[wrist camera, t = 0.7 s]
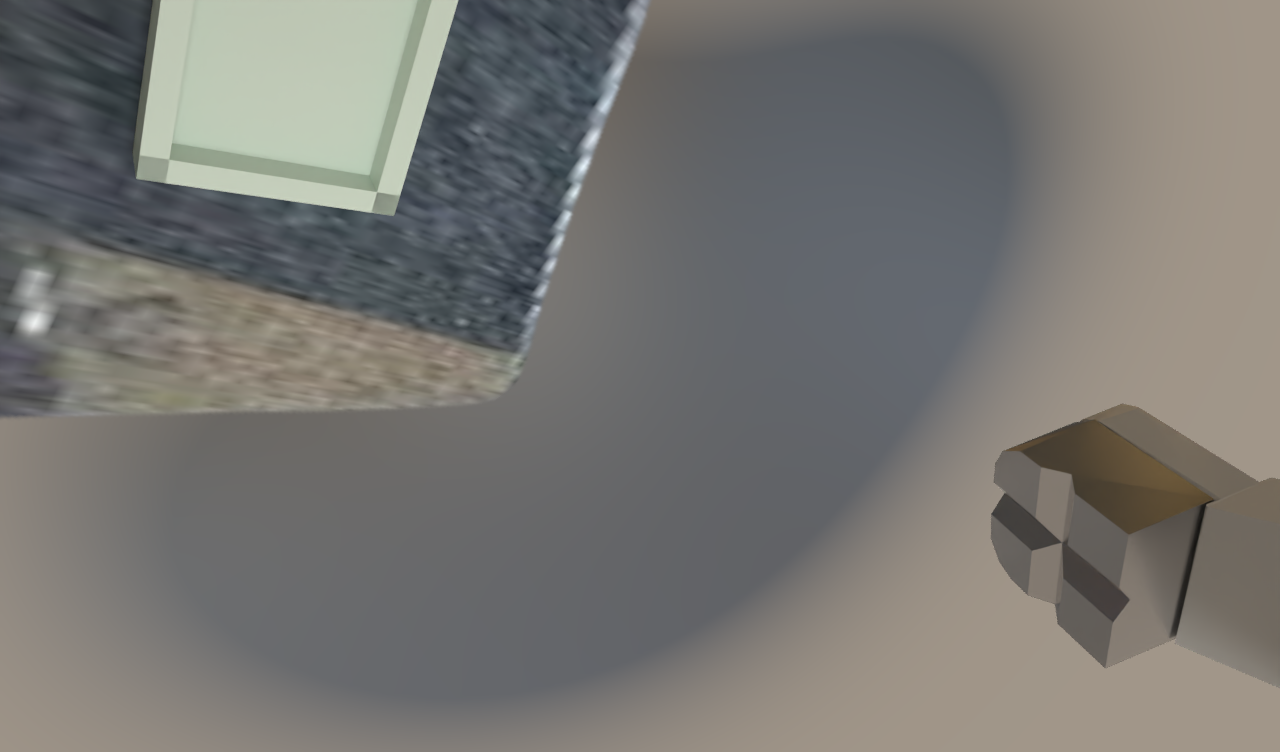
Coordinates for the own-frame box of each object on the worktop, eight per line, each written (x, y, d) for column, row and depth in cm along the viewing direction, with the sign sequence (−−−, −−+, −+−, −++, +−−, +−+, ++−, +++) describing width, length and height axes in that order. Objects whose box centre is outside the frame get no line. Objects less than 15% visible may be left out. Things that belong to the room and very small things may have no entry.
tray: (167, -112, 39) (173, -93, 37) (445, -28, 45) (460, -9, 44) (132, 152, 45) (136, 178, 43) (382, 191, 51) (393, 215, 50)
